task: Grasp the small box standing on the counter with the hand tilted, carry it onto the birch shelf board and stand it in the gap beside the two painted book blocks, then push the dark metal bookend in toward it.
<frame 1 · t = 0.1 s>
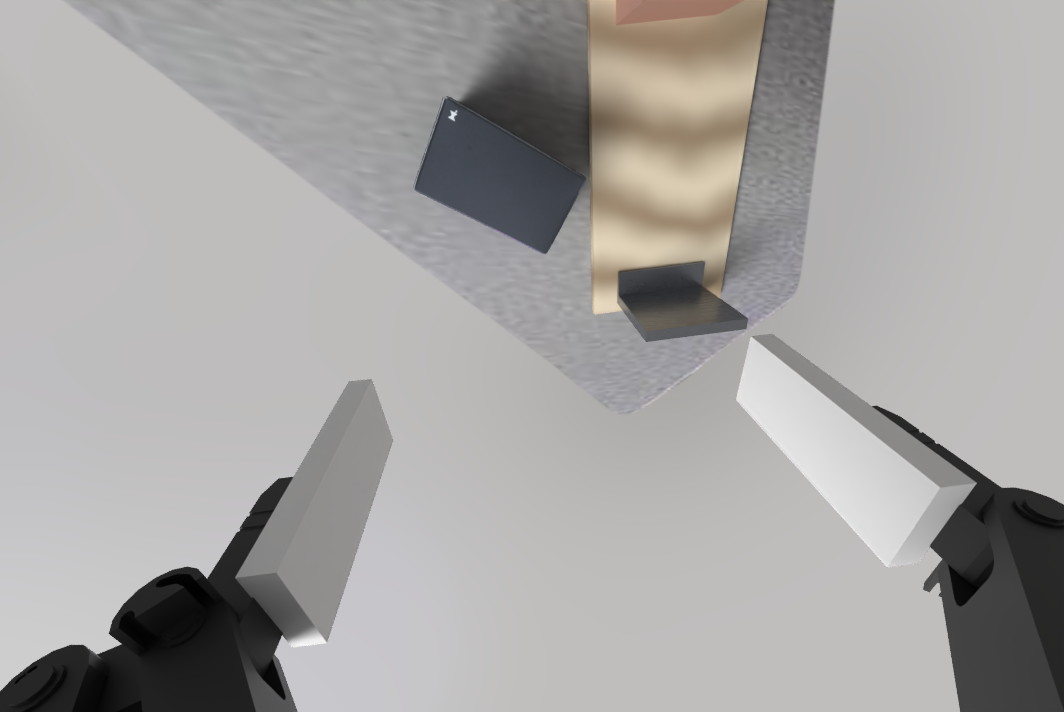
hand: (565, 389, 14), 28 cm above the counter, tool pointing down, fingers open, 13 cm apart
small box: (497, 170, 35), on the counter
bookend: (658, 293, 42), point 1 cm above the counter, touching shelf board
shelf board: (666, 126, 35), on the counter
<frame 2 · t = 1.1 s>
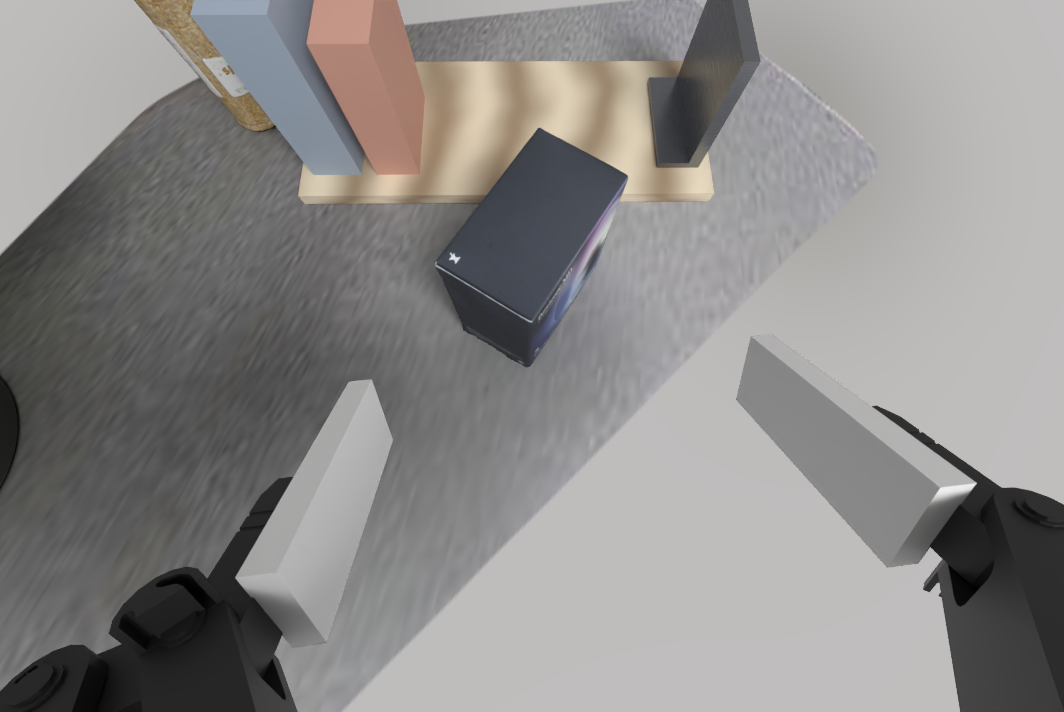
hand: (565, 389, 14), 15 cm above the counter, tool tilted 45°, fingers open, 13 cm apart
sprinkles bottle: (264, 114, 35), on the counter
book b: (401, 134, 33), point 1 cm above the counter, touching shelf board
small box: (532, 297, 31), on the counter
bookend: (686, 123, 34), point 1 cm above the counter, touching shelf board
shelf board: (507, 133, 34), on the counter
book a: (343, 135, 33), point 1 cm above the counter, touching shelf board
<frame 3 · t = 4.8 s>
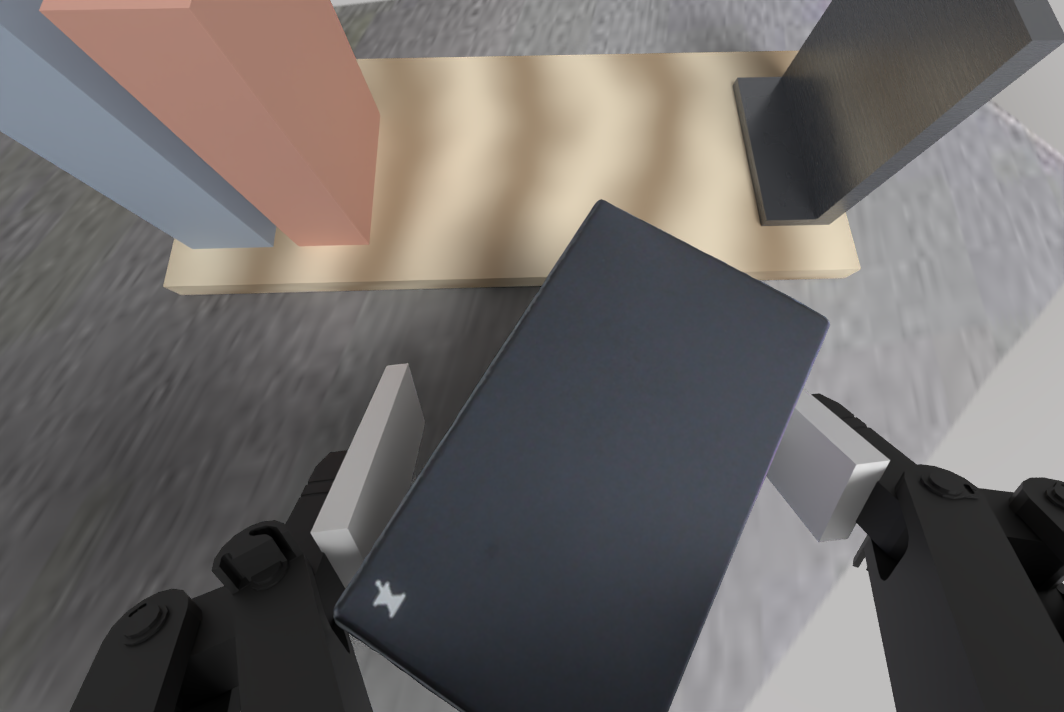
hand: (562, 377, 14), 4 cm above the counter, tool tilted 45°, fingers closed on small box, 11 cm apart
book b: (341, 177, 20), point 1 cm above the counter, touching shelf board
small box: (562, 456, 18), on the counter, touching gripper
bookend: (801, 151, 21), point 1 cm above the counter, touching shelf board
shelf board: (513, 170, 22), on the counter
book a: (245, 179, 20), point 1 cm above the counter, touching shelf board
when the fingers open (7 cm above the counter, at t = 10.3 s): small box drops 1 cm, resting on shelf board.
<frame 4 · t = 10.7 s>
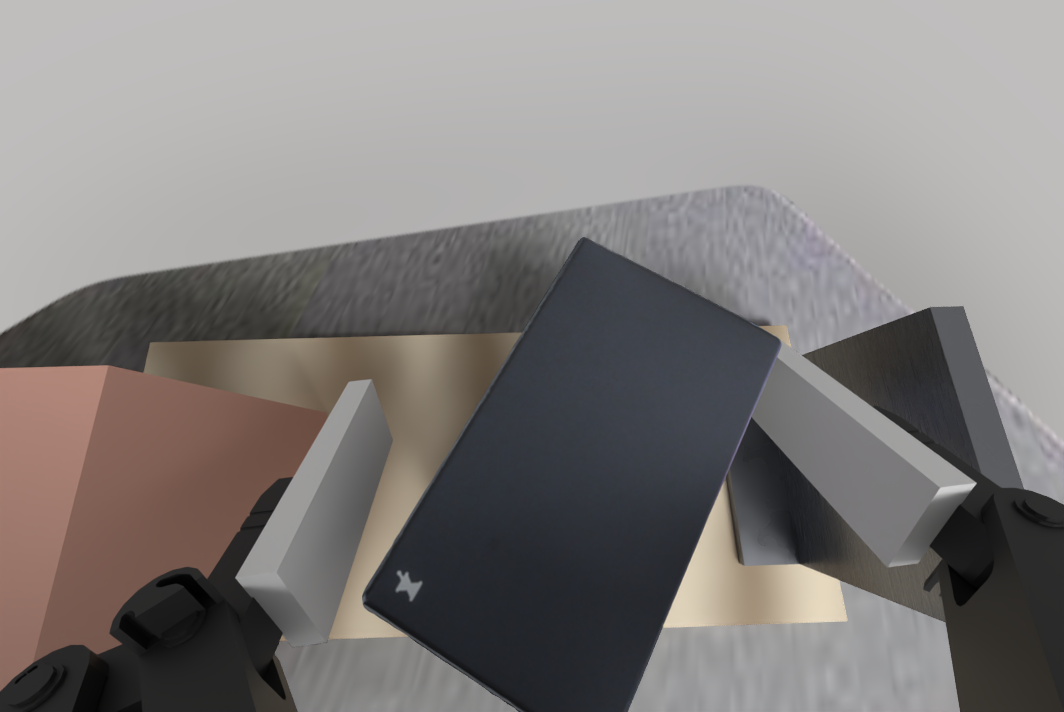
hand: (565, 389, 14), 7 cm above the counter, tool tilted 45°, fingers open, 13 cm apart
book b: (281, 497, 19), point 1 cm above the counter, touching shelf board
small box: (558, 459, 19), point 1 cm above the counter, touching shelf board
bookend: (784, 460, 19), point 1 cm above the counter, touching shelf board
shelf board: (472, 469, 20), on the counter
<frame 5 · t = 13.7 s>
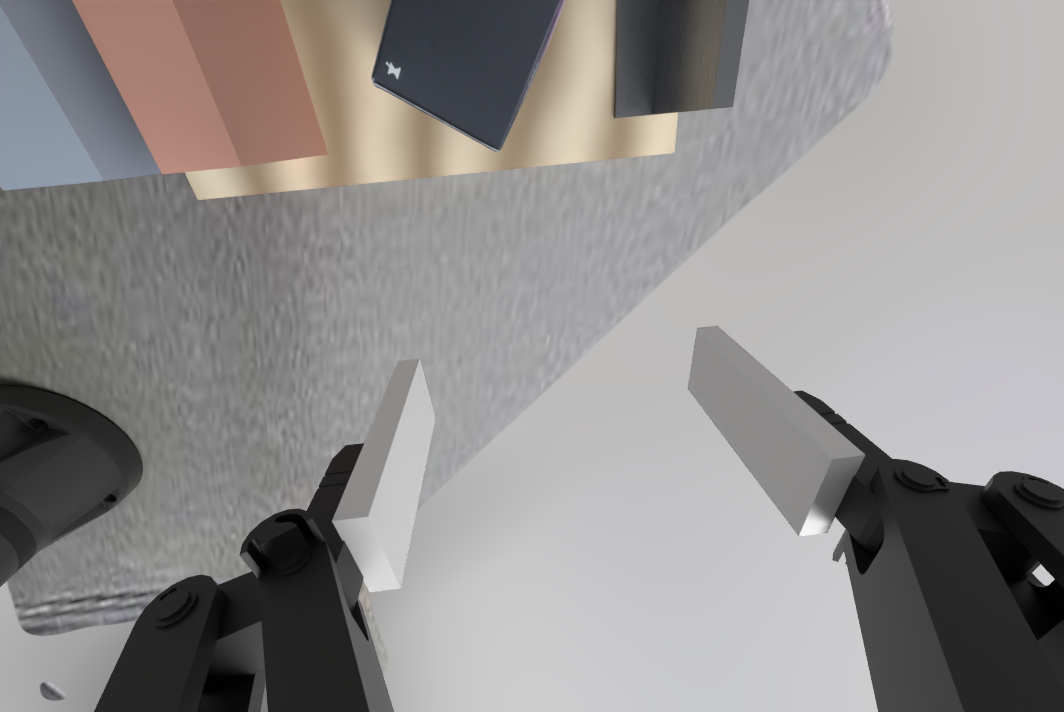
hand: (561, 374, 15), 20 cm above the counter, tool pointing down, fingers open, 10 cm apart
book b: (278, 85, 24), point 1 cm above the counter, touching shelf board
small box: (487, 39, 24), point 1 cm above the counter, touching shelf board
bookend: (662, 31, 25), point 1 cm above the counter, touching shelf board
shelf board: (420, 55, 25), on the counter
book a: (197, 93, 24), point 1 cm above the counter, touching shelf board
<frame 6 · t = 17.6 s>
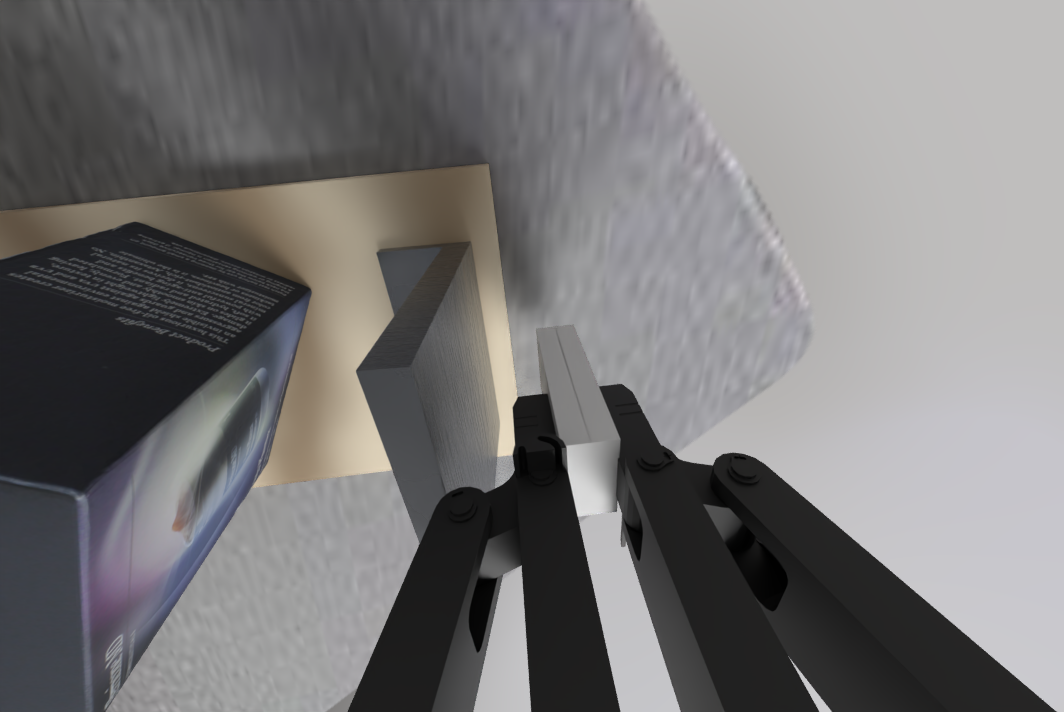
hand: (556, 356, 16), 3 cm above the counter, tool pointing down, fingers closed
small box: (219, 362, 17), point 1 cm above the counter, touching shelf board
bookend: (476, 345, 17), point 1 cm above the counter, touching gripper, shelf board
shelf board: (135, 371, 18), on the counter
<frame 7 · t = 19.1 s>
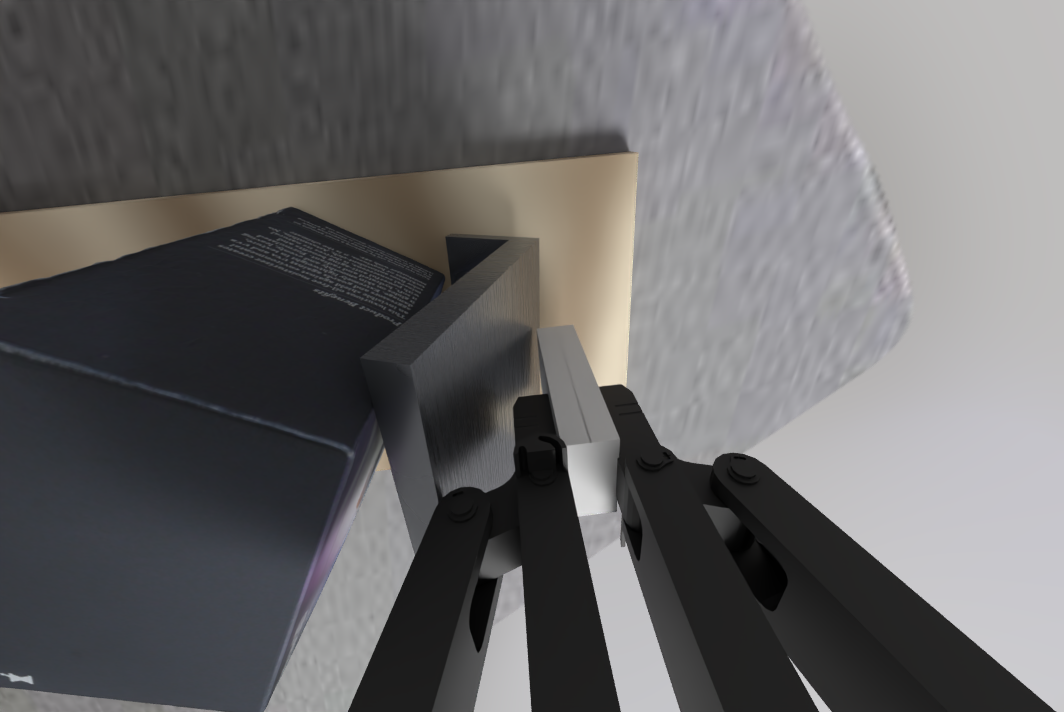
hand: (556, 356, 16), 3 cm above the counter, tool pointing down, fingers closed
small box: (344, 349, 17), point 1 cm above the counter, touching bookend, shelf board
bookend: (528, 344, 16), point 2 cm above the counter, tilted 20°, touching gripper, hand, shelf board, small box
shelf board: (261, 357, 18), on the counter
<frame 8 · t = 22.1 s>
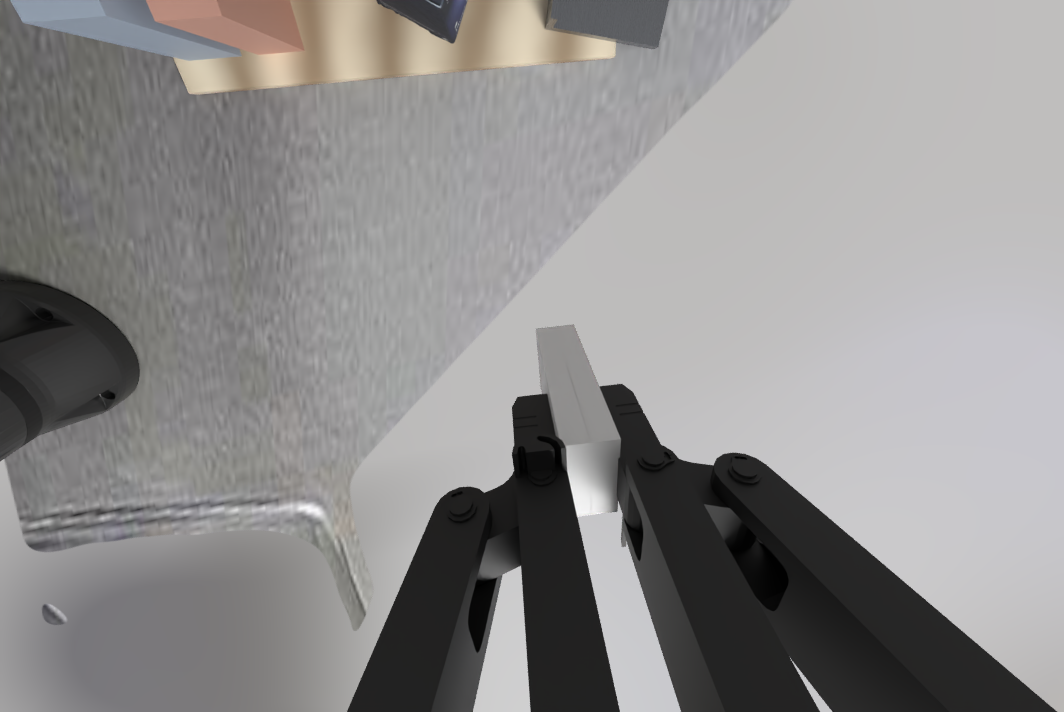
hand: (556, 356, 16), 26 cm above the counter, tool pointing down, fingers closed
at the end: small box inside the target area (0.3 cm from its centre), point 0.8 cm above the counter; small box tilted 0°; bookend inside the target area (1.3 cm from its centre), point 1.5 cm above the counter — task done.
